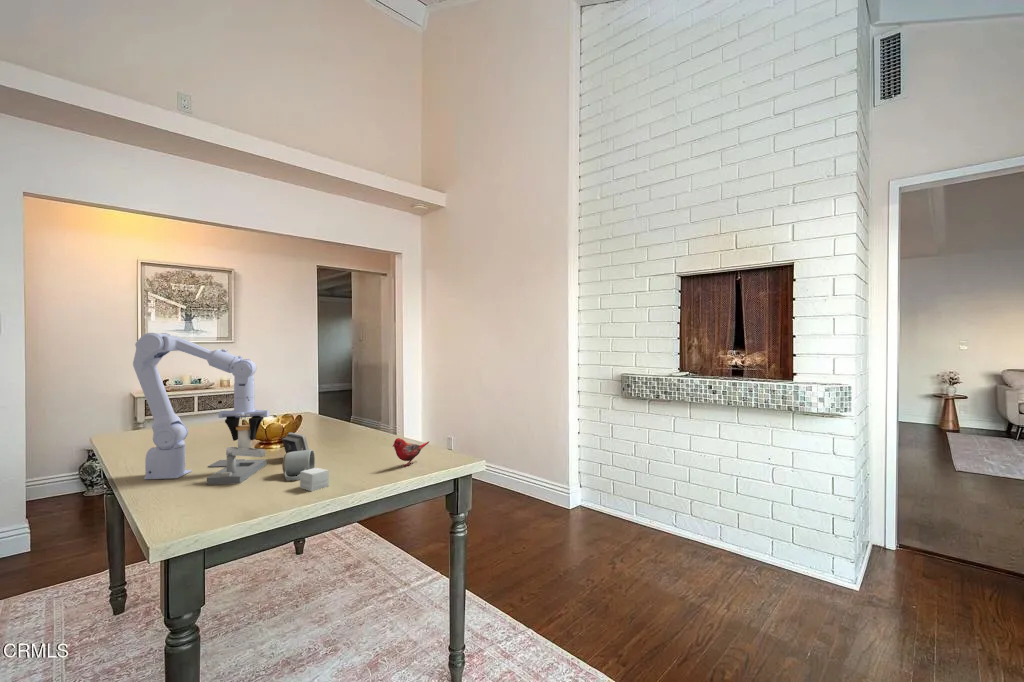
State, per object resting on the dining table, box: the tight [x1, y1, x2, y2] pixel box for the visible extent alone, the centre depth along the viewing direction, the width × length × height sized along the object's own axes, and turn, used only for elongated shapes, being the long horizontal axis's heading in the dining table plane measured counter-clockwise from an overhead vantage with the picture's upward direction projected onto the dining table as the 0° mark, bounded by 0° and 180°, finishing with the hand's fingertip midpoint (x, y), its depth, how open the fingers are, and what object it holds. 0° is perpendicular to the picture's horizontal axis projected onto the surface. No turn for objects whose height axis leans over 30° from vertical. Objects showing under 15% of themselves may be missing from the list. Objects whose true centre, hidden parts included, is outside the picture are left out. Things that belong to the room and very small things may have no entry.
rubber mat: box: [207, 458, 246, 468], centre depth 158 cm, size 8×8×1 cm
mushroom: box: [236, 424, 252, 448], centre depth 150 cm, size 5×5×7 cm
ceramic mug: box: [281, 448, 316, 481], centre depth 144 cm, size 11×8×8 cm
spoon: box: [225, 446, 266, 458], centre depth 140 cm, size 3×12×2 cm, turn 78°
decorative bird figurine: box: [391, 437, 430, 467], centre depth 159 cm, size 3×18×10 cm, turn 148°
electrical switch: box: [281, 432, 310, 454], centre depth 165 cm, size 9×5×9 cm, turn 57°
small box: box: [299, 467, 330, 492], centre depth 134 cm, size 6×6×5 cm
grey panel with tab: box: [206, 455, 268, 485], centre depth 146 cm, size 9×20×7 cm, turn 7°
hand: (244, 439), depth 150 cm, fingers closed on mushroom, 5 cm apart
